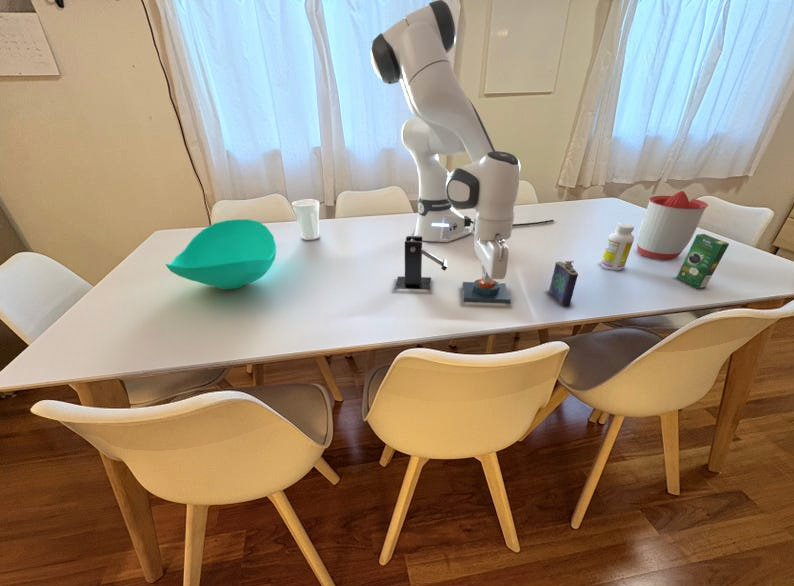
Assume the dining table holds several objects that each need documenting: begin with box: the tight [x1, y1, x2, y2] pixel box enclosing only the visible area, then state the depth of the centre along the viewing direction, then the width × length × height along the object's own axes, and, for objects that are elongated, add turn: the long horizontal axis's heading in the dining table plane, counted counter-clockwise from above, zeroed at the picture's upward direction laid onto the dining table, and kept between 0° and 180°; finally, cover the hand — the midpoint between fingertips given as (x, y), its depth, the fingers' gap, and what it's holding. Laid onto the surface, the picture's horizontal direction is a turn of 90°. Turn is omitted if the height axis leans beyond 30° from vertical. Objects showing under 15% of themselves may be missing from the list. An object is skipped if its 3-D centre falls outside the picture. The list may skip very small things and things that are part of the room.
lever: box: [410, 238, 448, 271], centre depth 102 cm, size 12×5×2 cm, turn 86°
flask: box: [548, 260, 579, 308], centre depth 98 cm, size 9×3×11 cm, turn 8°
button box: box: [461, 278, 512, 304], centre depth 101 cm, size 12×10×4 cm
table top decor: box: [165, 218, 277, 290], centre depth 108 cm, size 40×28×13 cm
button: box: [478, 278, 495, 288], centre depth 100 cm, size 4×4×2 cm
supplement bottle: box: [600, 222, 635, 271], centre depth 114 cm, size 7×7×13 cm
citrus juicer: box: [636, 190, 709, 261], centre depth 121 cm, size 16×17×20 cm
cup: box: [291, 198, 320, 241], centre depth 140 cm, size 10×10×13 cm
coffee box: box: [676, 233, 730, 290], centre depth 104 cm, size 8×3×13 cm, turn 13°
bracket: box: [394, 235, 432, 291], centre depth 104 cm, size 10×8×14 cm
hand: (486, 281), depth 99 cm, fingers closed, pressing on button
